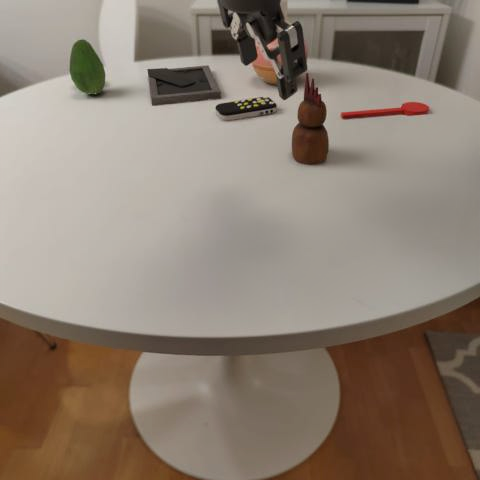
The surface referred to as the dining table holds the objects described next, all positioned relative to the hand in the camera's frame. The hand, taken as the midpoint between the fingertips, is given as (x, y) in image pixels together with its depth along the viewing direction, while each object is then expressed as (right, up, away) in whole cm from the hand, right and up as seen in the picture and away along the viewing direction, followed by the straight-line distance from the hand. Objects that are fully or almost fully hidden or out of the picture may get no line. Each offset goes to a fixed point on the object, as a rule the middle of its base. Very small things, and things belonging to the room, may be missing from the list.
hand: (268, 77), depth 59 cm
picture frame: (-18, +22, +54) cm, 61 cm away
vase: (+6, +24, +55) cm, 61 cm away
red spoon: (+26, +9, +37) cm, 47 cm away
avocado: (-40, +20, +53) cm, 69 cm away
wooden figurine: (+8, -6, +21) cm, 23 cm away
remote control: (-2, +11, +40) cm, 42 cm away
